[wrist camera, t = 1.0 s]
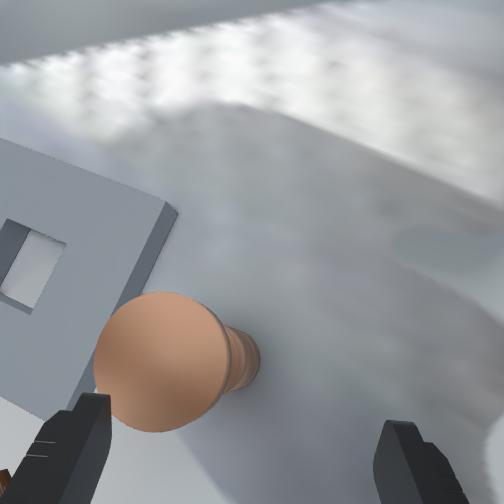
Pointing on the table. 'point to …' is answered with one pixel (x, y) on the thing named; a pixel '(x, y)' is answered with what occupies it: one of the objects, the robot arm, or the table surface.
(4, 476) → the food container
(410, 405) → the table surface
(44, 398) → the socket block
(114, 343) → the headed peg
